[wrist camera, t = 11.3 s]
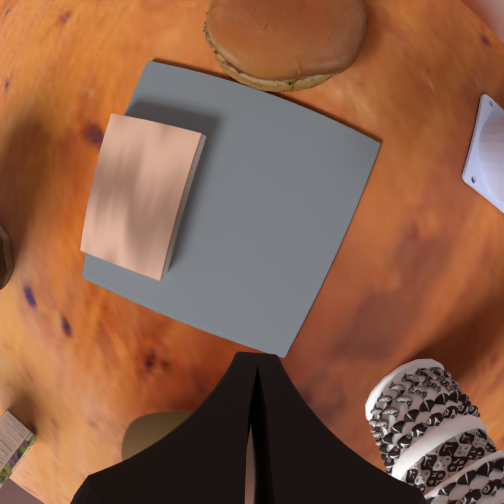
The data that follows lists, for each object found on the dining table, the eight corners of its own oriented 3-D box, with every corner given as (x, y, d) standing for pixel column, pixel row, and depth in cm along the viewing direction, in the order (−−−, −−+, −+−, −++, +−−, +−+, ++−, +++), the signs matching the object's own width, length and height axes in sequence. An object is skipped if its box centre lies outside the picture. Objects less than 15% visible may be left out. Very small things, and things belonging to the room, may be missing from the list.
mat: (378, 144, 17) (380, 143, 17) (283, 354, 21) (284, 358, 20) (150, 62, 16) (148, 60, 16) (84, 275, 20) (81, 277, 19)
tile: (160, 280, 18) (80, 250, 17) (167, 272, 19) (92, 244, 19) (201, 133, 15) (111, 113, 15) (206, 136, 17) (122, 117, 17)
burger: (244, 116, 17) (239, 97, 13) (191, 11, 15) (175, -24, 11) (379, 72, 16) (409, 48, 11) (317, -25, 14) (329, -61, 9)
